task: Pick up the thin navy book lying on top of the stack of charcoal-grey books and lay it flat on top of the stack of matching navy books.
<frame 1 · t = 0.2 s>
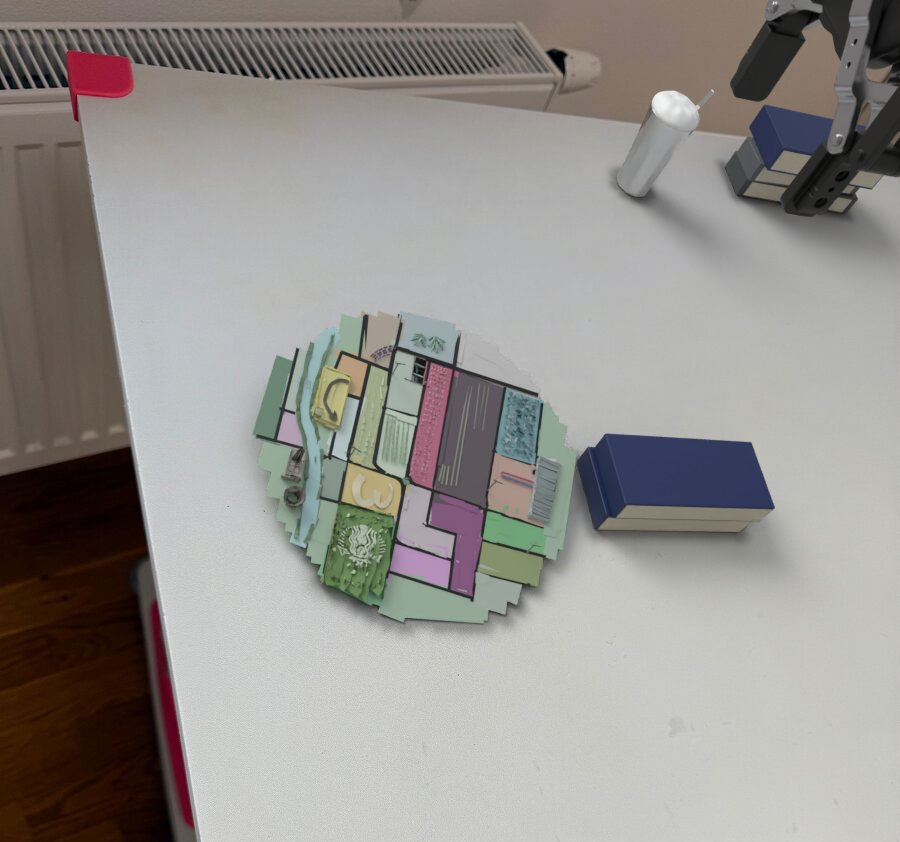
hand: (769, 150, 51), 27 cm above the table, tool pointing down, fingers open, 8 cm apart
navy stack: (659, 497, 75), on the table
grey stack: (786, 190, 100), on the table
city model: (410, 478, 68), on the table
milkshake: (634, 186, 92), on the table
navy book: (810, 158, 97), point 4 cm above the table, touching grey stack
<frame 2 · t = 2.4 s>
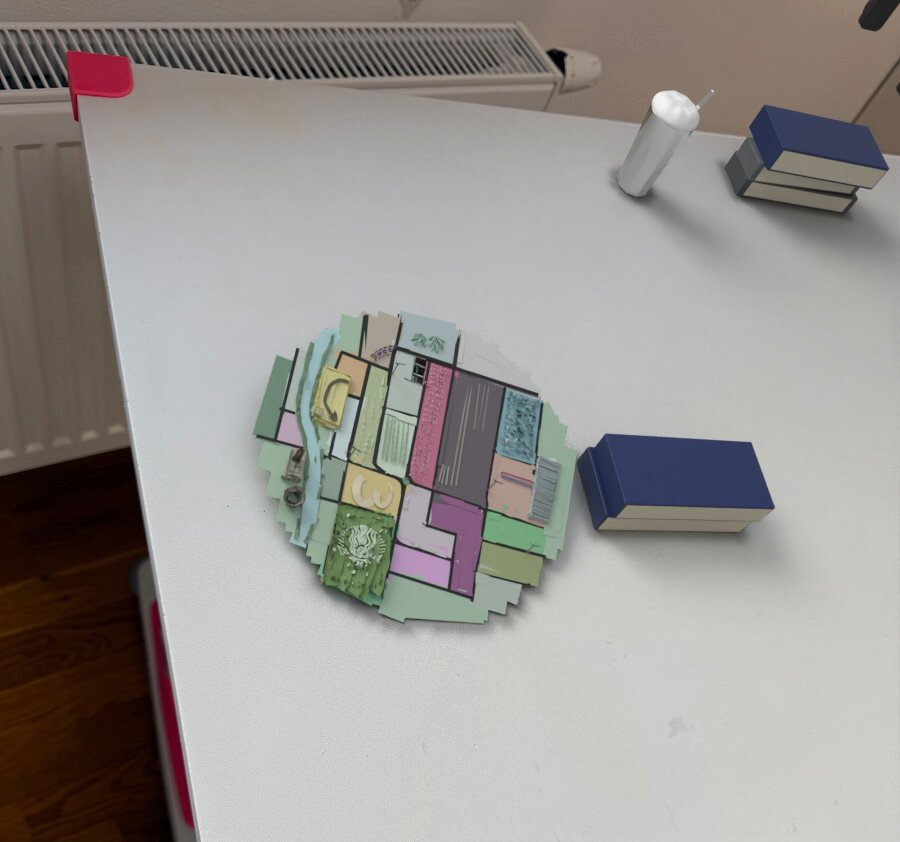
hand: (885, 60, 82), 17 cm above the table, tool pointing down, fingers open, 8 cm apart
nothing on the table moved.
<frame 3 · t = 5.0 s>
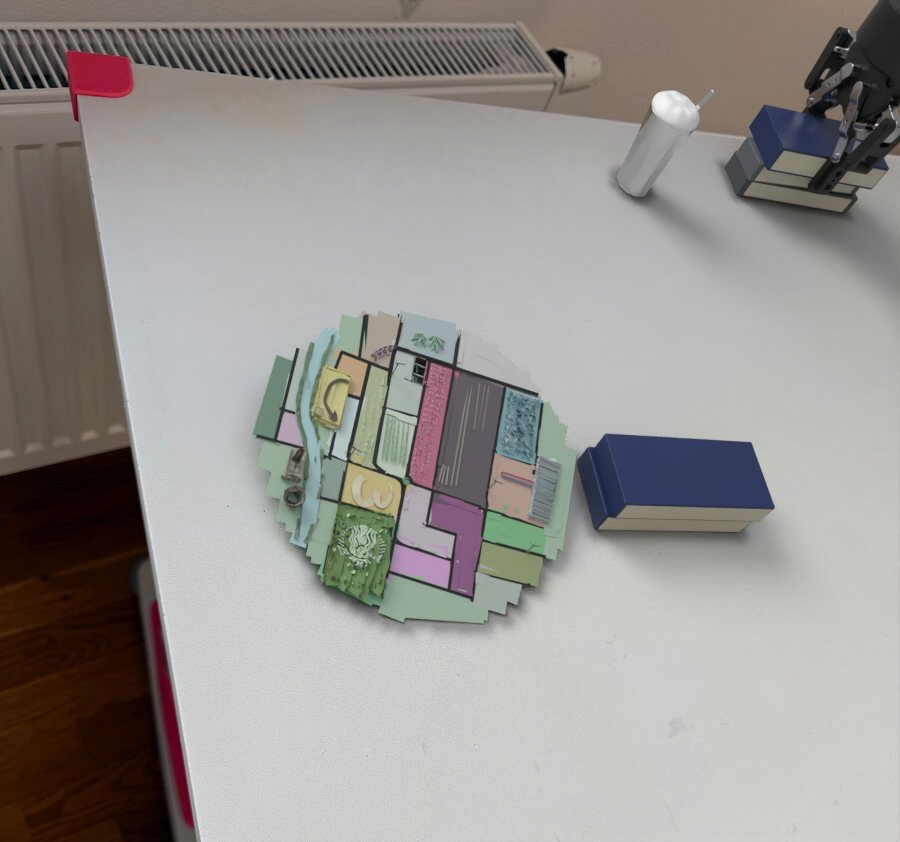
hand: (804, 166, 97), 3 cm above the table, tool pointing down, fingers closed on navy book, 6 cm apart
navy book: (810, 158, 97), point 4 cm above the table, touching grey stack, gripper
everything else where it was.
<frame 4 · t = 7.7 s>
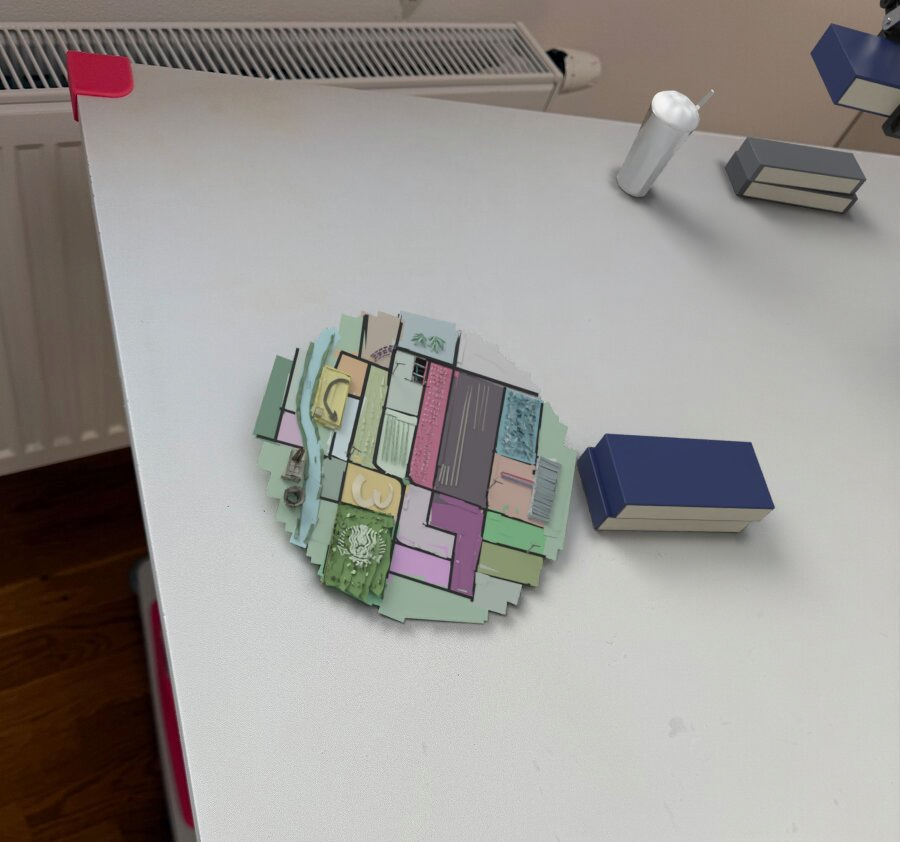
hand: (877, 105, 79), 17 cm above the table, tool pointing down, fingers closed on navy book, 6 cm apart
navy book: (885, 94, 78), point 18 cm above the table, touching gripper
everything else where it was.
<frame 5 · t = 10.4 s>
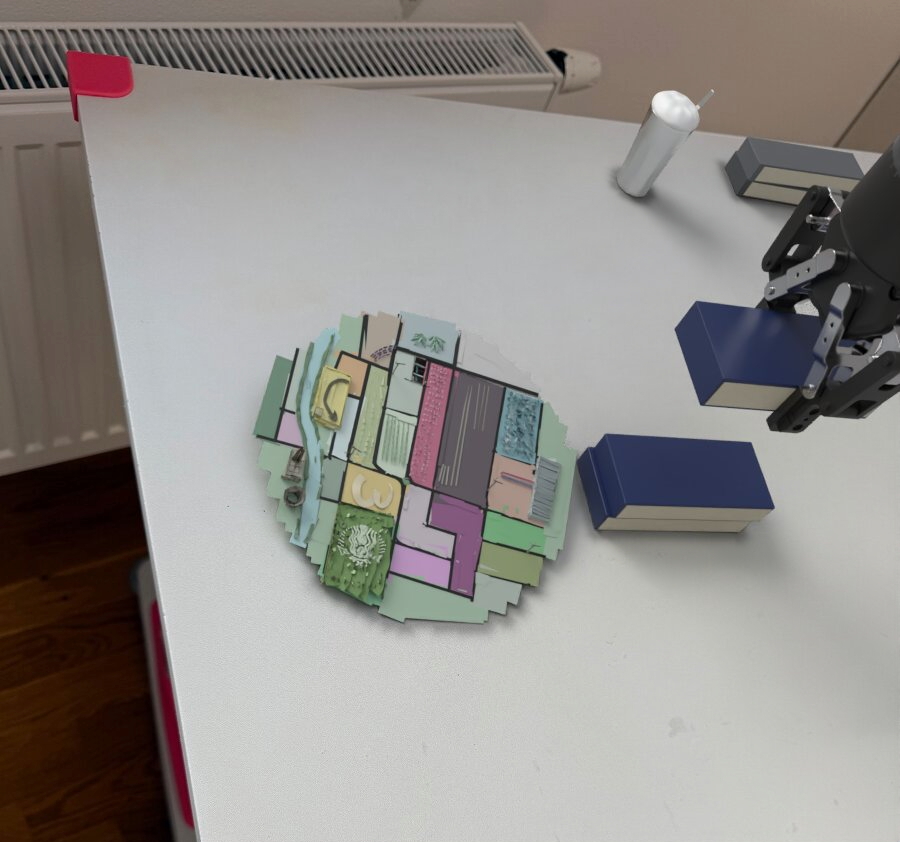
hand: (763, 384, 63), 14 cm above the table, tool pointing down, fingers closed on navy book, 6 cm apart
navy book: (771, 374, 63), point 15 cm above the table, touching gripper
everything else where it was.
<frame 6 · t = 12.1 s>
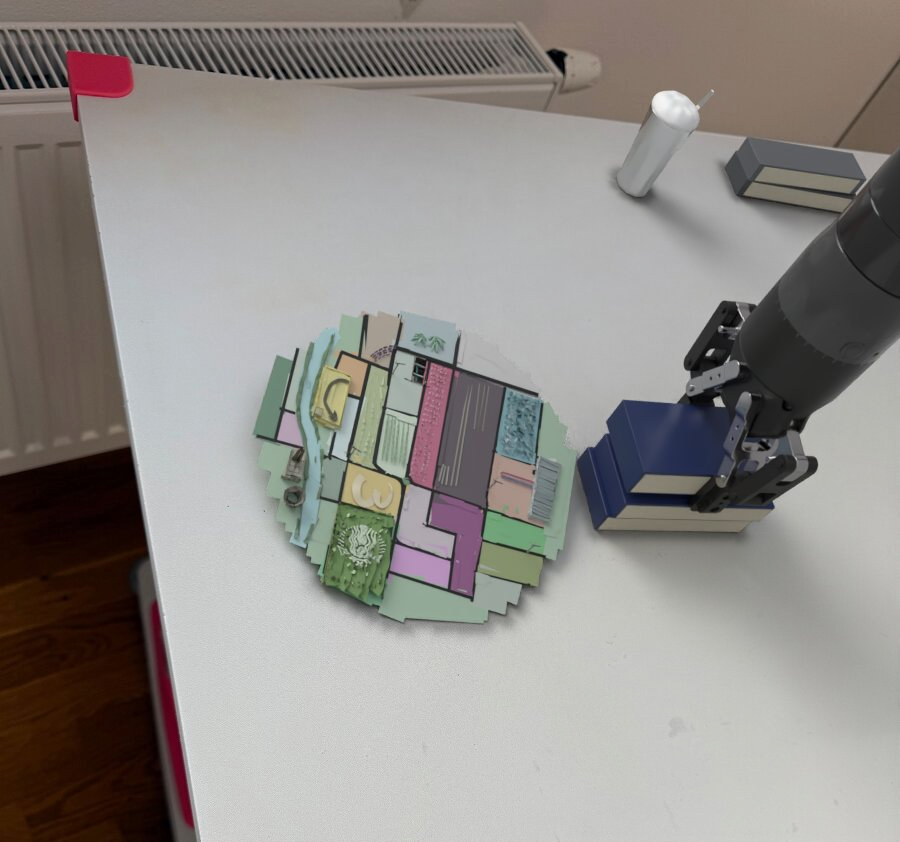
hand: (687, 467, 71), 4 cm above the table, tool pointing down, fingers closed on navy book, 6 cm apart
navy book: (693, 460, 70), point 5 cm above the table, touching gripper
everything else where it was.
when the fingers open (4 cm above the table, at t = 15.9 s): navy book drops 1 cm, resting on navy stack.
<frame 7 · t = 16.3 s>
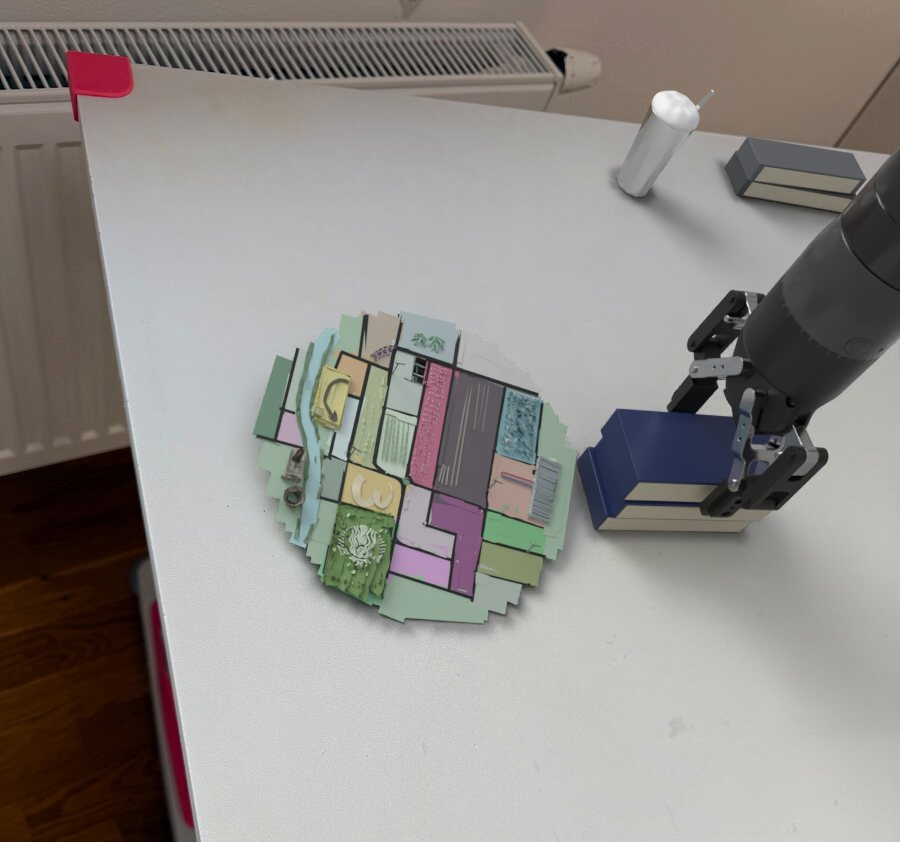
hand: (693, 461, 70), 5 cm above the table, tool pointing down, fingers open, 8 cm apart
navy book: (686, 468, 71), point 4 cm above the table, touching navy stack
everything else where it was.
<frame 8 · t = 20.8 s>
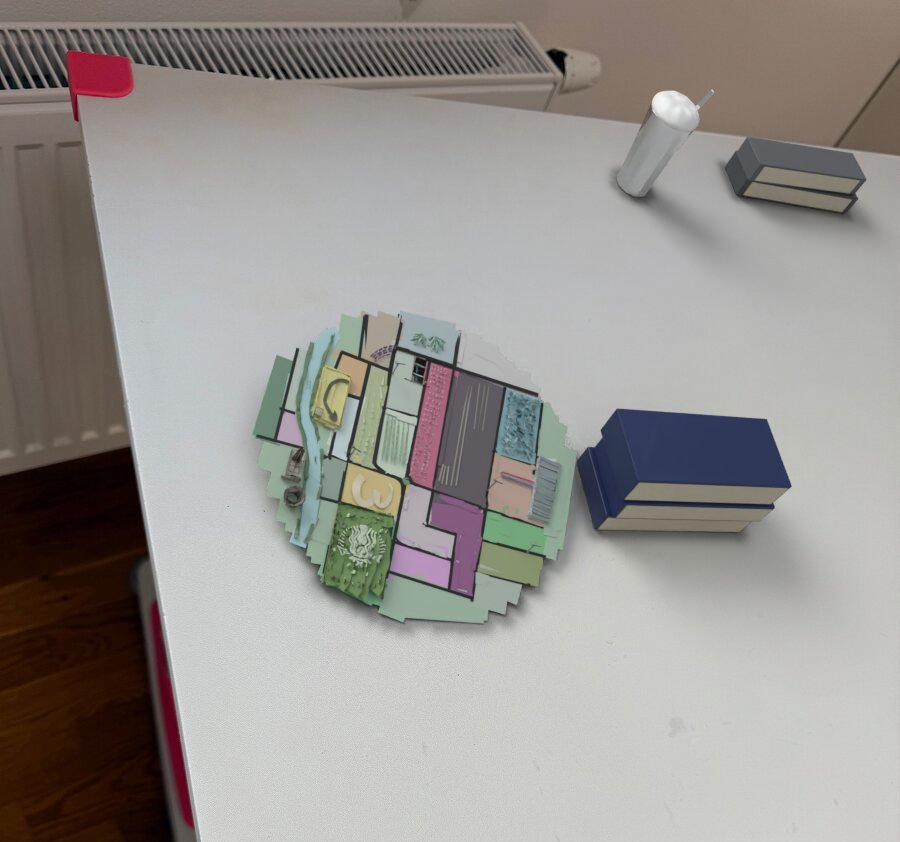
nothing on the table moved.
at the end: navy book 0.0 cm off-centre on the navy stack, point 4.0 cm above the navy stack's base; navy book tilted 0°; the gripper is holding nothing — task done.
